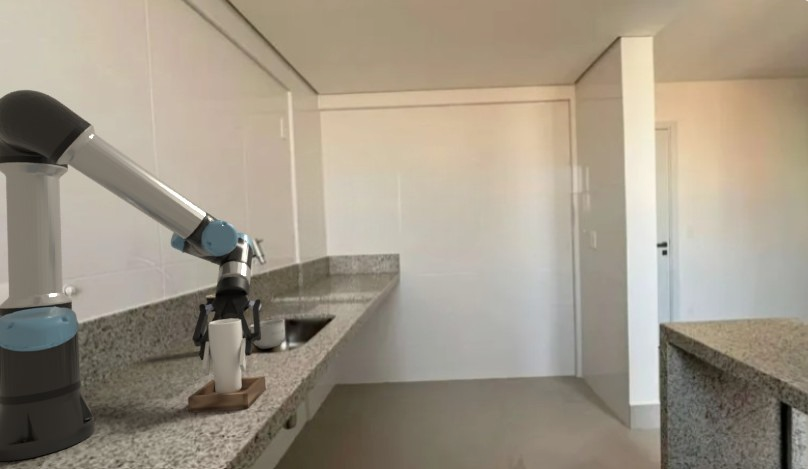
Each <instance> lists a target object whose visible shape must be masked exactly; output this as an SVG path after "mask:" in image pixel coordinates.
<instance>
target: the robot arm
mask: <svg viewBox="0 0 808 469" xmlns="http://www.w3.org/2000/svg"><path fill="white" fill-rule="evenodd" d="M95 131H96V130H95V128H94V125H93V124H91V123H90V122H89V121H87V120H85V119H84V118H83V117H81V116H80V115H79V114H77V113H76V112H74V111H73V110H72V109H71V108H69V107H68V106H66V104H64V103H62V102H60V101H59V100H57V99H56V98H54V97H53V96H51V95H49V94H47V93H44V92H41V91H38V90H32V89H22V90H21V89H19V90H14V91H11V92H9V93H6V94H5V95H3V96H2V97H0V173H2V174H3V175H5V191H6V193H5V194H6V196H5V197H6V227H7V228H6V232H7V234H6V235H7V270H8V278H7V279H8V296H7V297H8V298H7V299H5V300H4V301H3V302H2V303H1V304H0V462H11V461H18V460H21V461H22V460H25V459H32V458H36V457H40V456H43V455H48V454H51V453H56V452H57V451H61V450H64V449H66V448H69V447H72V446H74V445H76V444H79V443H81V442H83V441H84V440H86V439H88V438H89V437H90V436H92V435H93V434H94V433H95V430H96V426H95V417H94V414H93V413H92V411H91V408H90V406H89V404H88V403H87V400H86V398H85V396H84V394H83V392H82V383H81V382H82V381H81V366H80V365H81V364H80V349H79V348H80V347H79V346H80V345H79V331H78V330H79V329H80V325H79V324H80V323H79V321H78V316H77V314H76V312H75V311H74V310H73V305H72V304H73V303H72V302H73V300H72V299H71V298H70V297H68V296H67V295H66V294H65V293H64V292H63V265H62V264H63V260H62V259H63V257H62V230H61V229H62V228H61V226H62V222H61V221H62V220H61V195H60V194H61V193H60V192H61V189H60V179H61V177H63V176H64V175H65V174H66V173H68V172H69V169H68V168H69V166H70V167H72V168H73V169H75V170H76V171H78V172H79V173H81V174H82V175H84V176H86V177H87V178H88V179H89V180H91V181H93V182H95V183H96V184H98V185H100V186H101V187H103V188H105V189H106V190H107V191H109V192H111V193H112V194H113V195H114V196H117V197H118V198H120V199H121V200H123V201H124V202H126V203H127V204H129V205H130V206H132V207H134V208H135V209H136V210H138V211H140V212H141V213H143V214H144V215H146V216H147V217H149V218H151V219H152V220H153V221H155V222H157V223H158V224H160V225H161V226H163V227H165V228H166V229H168V230H170V232H172V236H171V238H170V247H172V248H173V249H175V250H178V251H180V252H181V253H185V254H188V255H190V256H193V257H195V258H199V259H202V260H205V261H207V262H210V263H211V264H215V265H218V267H219V269H218V276H217V285H216V288H215V293H214V294H215V300H214V301H213V302H212V304H210V305H206V304H205V303H200V304H199V306H198V307H199V315H198V318H197V322H196V325H195V329H194V331H193V335H192V338H191V339H192V341H193V343H194V346H195V347H196V348H197V347H199V354H198V355H199V358H200V360H201V361H202V367H201V370H202V372H203V373H202V374H203V375H204V376H205V377H207V376H209V375H210V366H211V362H212V359H211V353H210V346H209V334H208V328H206V324H207V320H208V315H210V313H211V310H214V311H215V315H214V318H213V320H212V321H217V320H223V319H230V318H232V319H241V324H242V334H243V335H244V338H243V337H242V342H241V353H240V364H239V365H240V368H241V372H243V373H244V372H246V366H247V356H248V357H249V356H251V355H252V354H253V352H252V351H253V344H254V343H253V342H254V341H256V340H257V341H259V340H261V326H260V322H261V314H260V313H261V312H262V307H263V306H262V302H261V299H258V298H257V299H256V300H250V290H251V289H250V285H251V274H252V273H251V272H252V264H253V261H252V260H253V255H254V245H253V241H252V238H251V237H250V236H249V235H248V234H246V233H244V232H238V231H237V229H236V227H235V226H234V225H233V224H232V223H230V222H228V221H224V220H220V219H217V218H216V217H215V216H213V215H211V214H210V213H208V212H207V211H206V210H204V209H202V208H201V207H200V206H198V205H197V204H195V202H193V201H192V200H190V199H188V198H187V197H186V196H184V195H182V194H181V193H180V192H178V191H177V190H176V189H174V188H173V187H171V186H170V185H168V184H167V183H166V182H165V181H163V180H161V179H160V178H158V177H157V176H156V175H154V174H153V173H152V172H151V171H148V169H145V167H143V166H142V165H140V164H139V163H137V162H136V161H134V160H133V159H131V158H130V157H128V156H127V155H126V154H125V153H123V152H122V151H120V150H119V149H118V148H116V147H115V146H114V145H111V144H110V143H109V142H107V141H106V140H105V139H103V138H102V137H100V135H98V134H97V133H96V132H95ZM249 308H250V309H251V311H252V315H253V318H252V319H253V324H254V333H251V329H250V327H249V325H248V322H247V319H246V318H245V315H244V313H245V312H246V311H247V310H248V309H249ZM212 321H211V322H212Z"/></svg>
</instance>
